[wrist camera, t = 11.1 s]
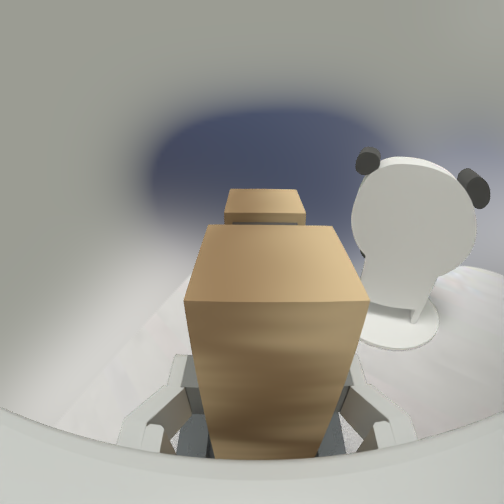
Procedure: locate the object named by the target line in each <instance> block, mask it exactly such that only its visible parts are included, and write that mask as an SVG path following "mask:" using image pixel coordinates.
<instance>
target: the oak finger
mask: <svg viewBox="0 0 504 504" xmlns="http://www.w3.org/2000/svg"><path fill="white" fill-rule="evenodd" d="M369 304H370V299H369V297H368V294H367V292H366V290H365V288H364V286H363V284H362V282H361V280H360V278H359V277H358V274H357V272H356V271H355V268H354V266H353V265H352V263H351V261H350V259H349V257H348V255H347V253H346V251H345V249H344V247H343V245H342V244H341V242H340V240H339V238H338V236H337V234H336V232H335V231H334V229H333V227H332V226H304V225H208V227H207V230H206V233H205V236H204V239H203V242H202V245H201V248H200V251H199V254H198V257H197V260H196V263H195V266H194V269H193V272H192V275H191V278H190V282H189V285H188V288H187V291H186V294H185V298H184V307H185V313H186V319H187V326H188V332H189V337H190V343H191V349H192V354H193V360H194V365H195V370H196V376H197V381H198V386H199V391H200V395H201V400H202V405H203V409H204V414H205V418H206V423H207V427H208V432H209V436H210V440H211V444H212V448H213V452H214V456H215V459H233V460H281V459H301V458H314V457H315V456H316V453H317V451H318V449H319V447H320V444H321V442H322V440H323V437H324V435H325V433H326V430H327V428H328V426H329V423H330V421H331V418H332V416H333V413H334V411H335V408H336V405H337V403H338V400H339V398H340V395H341V392H342V389H343V387H344V384H345V381H346V378H347V375H348V373H349V370H350V367H351V364H352V361H353V358H354V355H355V351H356V348H357V345H358V342H359V339H360V335H361V332H362V329H363V325H364V322H365V318H366V315H367V311H368V307H369Z"/></svg>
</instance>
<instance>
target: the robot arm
mask: <svg viewBox="0 0 504 504" xmlns="http://www.w3.org/2000/svg"><path fill="white" fill-rule="evenodd" d="M337 412H340V414H341V415H342V416H343V417H344V419H345V420H346V421H347V422H348V423H349V424H350V425H351V426H352V427H353V429H354V430H355V431H356V432H357V433H358V434H359V435H360V436H361V437H362V438H363V440H364V441H363V442H362V444H361V445H360V447H359V448H358V450H357V451H356V453H350V454H343V455H334V456H325V457H314V458H301V459H281V460H233V459H213V458H200V457H189V456H180V455H177V454H176V452H175V450H174V448H173V446H172V444H171V442H170V440H171V438H172V437H173V436H174V435H175V434H176V433H177V432H178V431H179V429H180V428H181V427H182V426H183V425H184V424H185V423H186V421H187V420H188V419H189V418H190V417H191V416H192V414H204V409H203V405H202V400H201V395H200V391H199V386H198V381H197V376H196V370H195V365H194V360H193V355H179V354H176V355H175V357H174V360H173V364H172V368H171V372H170V376H169V380H168V383H167V386H162V387H161V388H160V389H159V390H158V391H156V392H155V393H154V394H153V395H152V396H151V397H149V398H148V399H147V400H146V401H145V402H143V403H142V404H141V405H140V406H139V407H138V408H136V409H135V410H134V411H133V412H131V413H130V414H129V415H128V416H127V417H125V418H124V420H123V424H122V427H121V430H120V433H119V437H118V440H117V443H116V445H114V444H110V443H106V442H102V441H98V440H94V439H90V438H86V437H82V436H79V435H75V434H72V433H69V432H65V431H62V430H59V429H56V428H53V427H50V426H47V425H44V424H41V423H39V422H36V421H33V420H31V419H28V418H26V417H23V416H21V415H18V414H16V413H13V412H11V411H9V410H7V409H4V408H1V407H0V504H504V411H502V412H500V413H498V414H495V415H493V416H490V417H488V418H485V419H483V420H480V421H477V422H475V423H472V424H469V425H466V426H463V427H461V428H458V429H454V430H451V431H448V432H445V433H442V434H438V435H435V436H431V437H428V438H424V439H420V440H418V438H417V435H416V432H415V429H414V426H413V424H412V421H411V418H410V415H408V414H407V413H406V412H405V411H403V410H402V409H401V408H400V407H398V406H397V405H396V404H395V403H393V402H392V401H391V400H390V399H389V398H387V397H386V396H385V395H384V394H382V393H381V392H380V391H379V390H377V389H376V388H375V387H374V386H372V385H371V384H367V382H366V379H365V376H364V373H363V369H362V366H361V363H360V360H359V357H358V355H357V354H355V355H354V358H353V361H352V364H351V367H350V370H349V373H348V375H347V378H346V381H345V384H344V387H343V389H342V392H341V395H340V398H339V400H338V403H337V405H336V408H335V411H334V413H337Z"/></svg>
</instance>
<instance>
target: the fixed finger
mask: <svg viewBox="0 0 504 504" xmlns="http://www.w3.org/2000/svg"><path fill="white" fill-rule="evenodd" d="M224 220H225V221H224V222H225V225H304V226H305V220H306V212H305V210H304V207H303V205H302V202H301V200H300V198H299V195H298V193H297V191H296V190H289V189H288V190H286V189H230V192H229V196H228V200H227V204H226V207H225V212H224Z"/></svg>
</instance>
